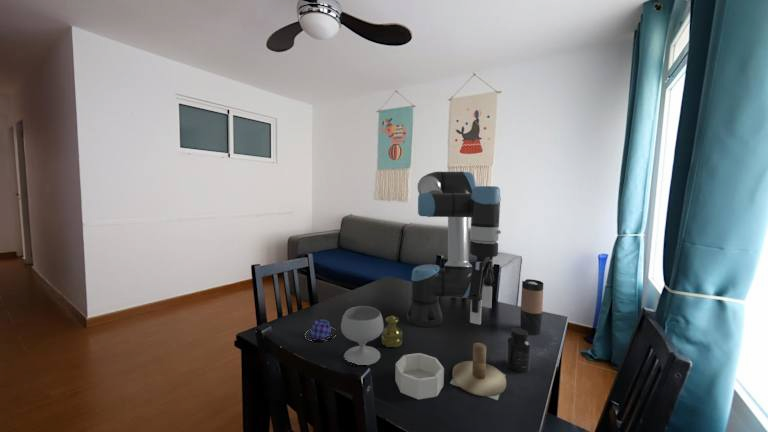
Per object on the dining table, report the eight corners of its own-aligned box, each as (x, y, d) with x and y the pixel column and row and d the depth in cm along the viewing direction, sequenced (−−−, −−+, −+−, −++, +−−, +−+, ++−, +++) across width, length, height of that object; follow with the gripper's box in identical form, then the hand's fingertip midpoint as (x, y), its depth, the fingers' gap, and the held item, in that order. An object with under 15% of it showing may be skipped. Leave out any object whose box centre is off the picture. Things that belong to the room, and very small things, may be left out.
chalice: (391, 360, 96) (392, 315, 95) (352, 374, 89) (353, 325, 87) (369, 341, 108) (370, 301, 107) (334, 352, 100) (334, 309, 99)
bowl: (388, 388, 82) (389, 369, 82) (409, 366, 93) (409, 349, 93) (431, 406, 76) (432, 385, 75) (447, 379, 86) (448, 361, 86)
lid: (445, 384, 84) (446, 350, 83) (460, 358, 97) (461, 329, 96) (501, 403, 76) (502, 366, 75) (510, 373, 89) (511, 341, 88)
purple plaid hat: (343, 332, 116) (343, 319, 115) (324, 346, 105) (324, 332, 105) (318, 325, 121) (318, 313, 120) (298, 338, 110) (297, 325, 110)
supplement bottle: (502, 361, 96) (503, 326, 95) (522, 361, 97) (523, 325, 96) (512, 374, 89) (514, 336, 88) (534, 373, 90) (536, 335, 89)
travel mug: (543, 336, 114) (546, 285, 112) (522, 334, 115) (524, 284, 114) (537, 327, 121) (540, 279, 120) (517, 325, 123) (519, 278, 121)
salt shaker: (404, 340, 110) (404, 313, 109) (398, 350, 103) (399, 322, 102) (385, 336, 112) (385, 311, 111) (378, 346, 105) (379, 319, 104)
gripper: (488, 249, 71) (485, 335, 72) (505, 237, 92) (502, 303, 94) (457, 246, 75) (455, 327, 76) (480, 235, 96) (478, 299, 97)
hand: (481, 314), depth 85 cm, fingers open, 13 cm apart
